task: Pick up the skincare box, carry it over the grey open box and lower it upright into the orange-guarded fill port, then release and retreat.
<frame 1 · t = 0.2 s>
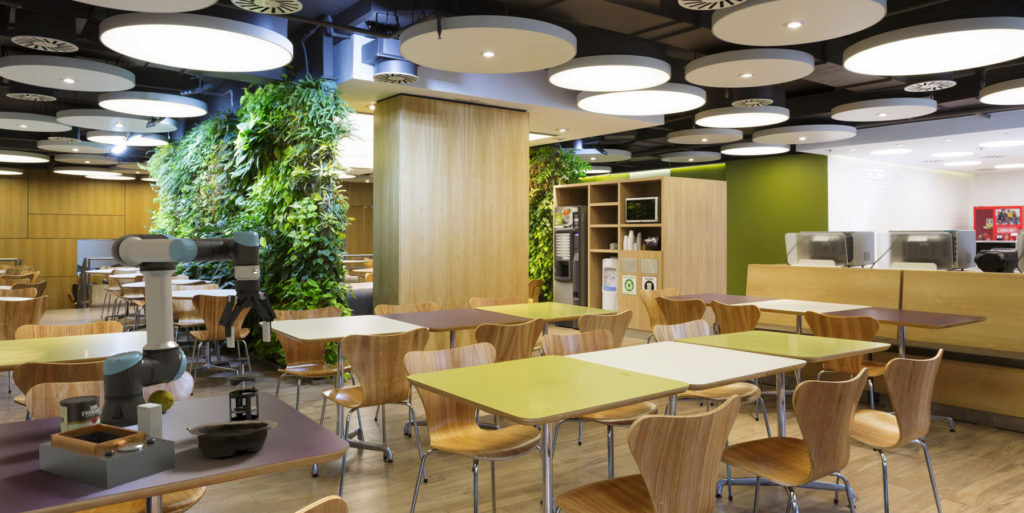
hand: (249, 344, 215), 28 cm above the table, fingers open, 13 cm apart
grey open box: (107, 468, 180), on the table
coffee can: (81, 445, 202), on the table
skincare box: (150, 444, 202), on the table
stone bowl: (234, 450, 195), on the table
french press: (244, 428, 218), on the table
lemon: (161, 412, 241), on the table
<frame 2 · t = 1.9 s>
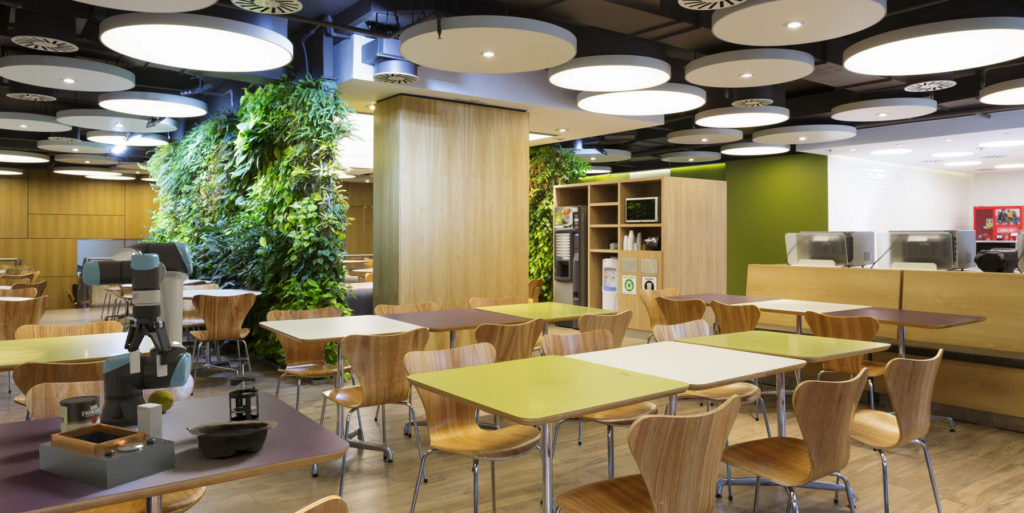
hand: (148, 374, 201), 21 cm above the table, fingers open, 13 cm apart
nothing on the table moved.
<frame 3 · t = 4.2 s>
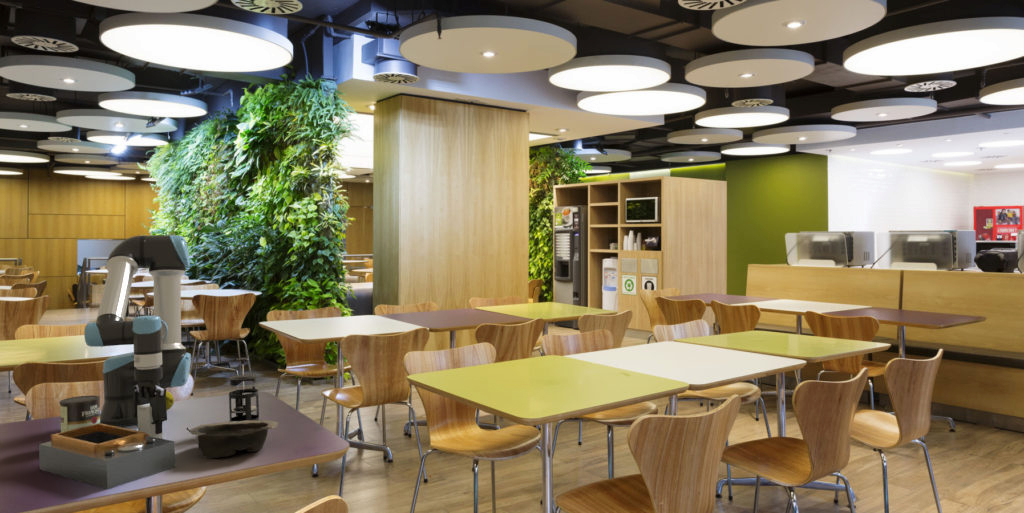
hand: (150, 442, 202), 0 cm above the table, fingers closed on skincare box, 6 cm apart
skincare box: (150, 444, 202), on the table, touching gripper
everything else where it was.
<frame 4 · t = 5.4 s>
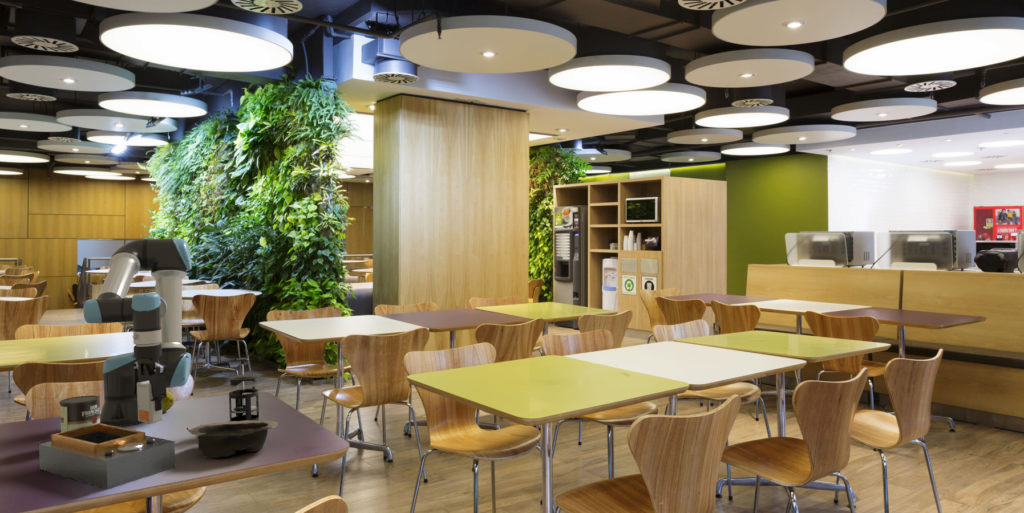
hand: (150, 419, 202), 7 cm above the table, fingers closed on skincare box, 6 cm apart
skincare box: (150, 421, 202), point 7 cm above the table, touching gripper
everything else where it was.
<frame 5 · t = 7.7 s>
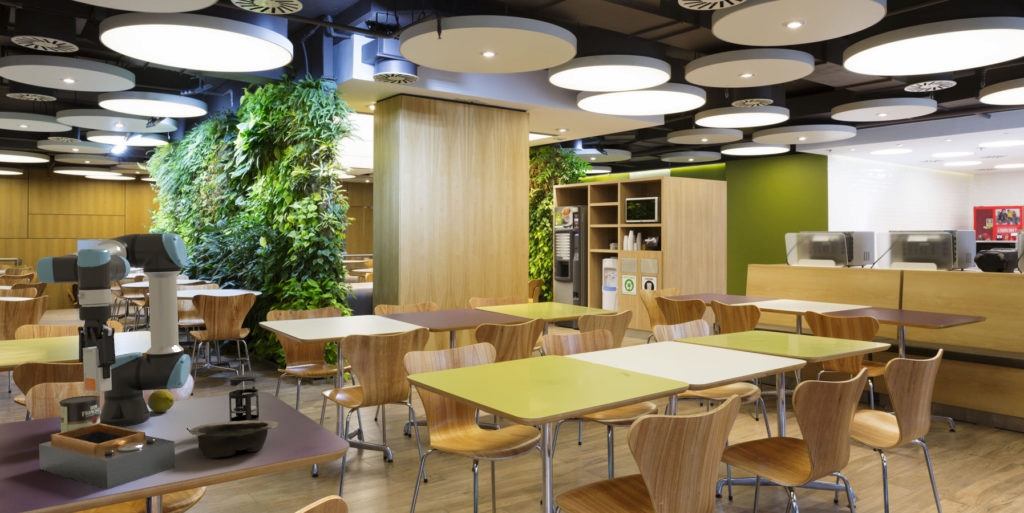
hand: (97, 389, 181), 21 cm above the table, fingers closed on skincare box, 6 cm apart
skincare box: (98, 391, 181), point 20 cm above the table, touching gripper
everything else where it was.
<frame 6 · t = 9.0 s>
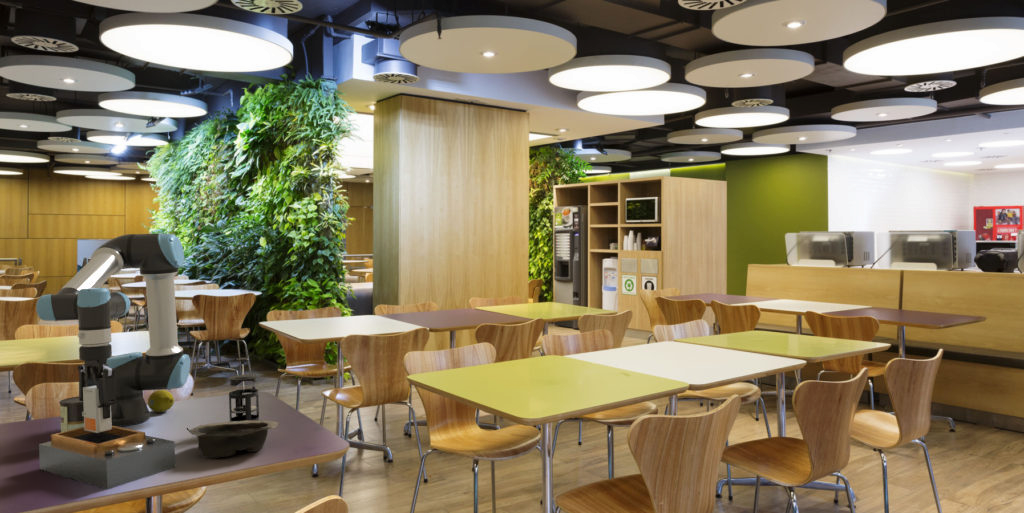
hand: (98, 428, 181), 10 cm above the table, fingers closed on skincare box, 6 cm apart
skincare box: (98, 430, 181), point 10 cm above the table, touching gripper
everything else where it was.
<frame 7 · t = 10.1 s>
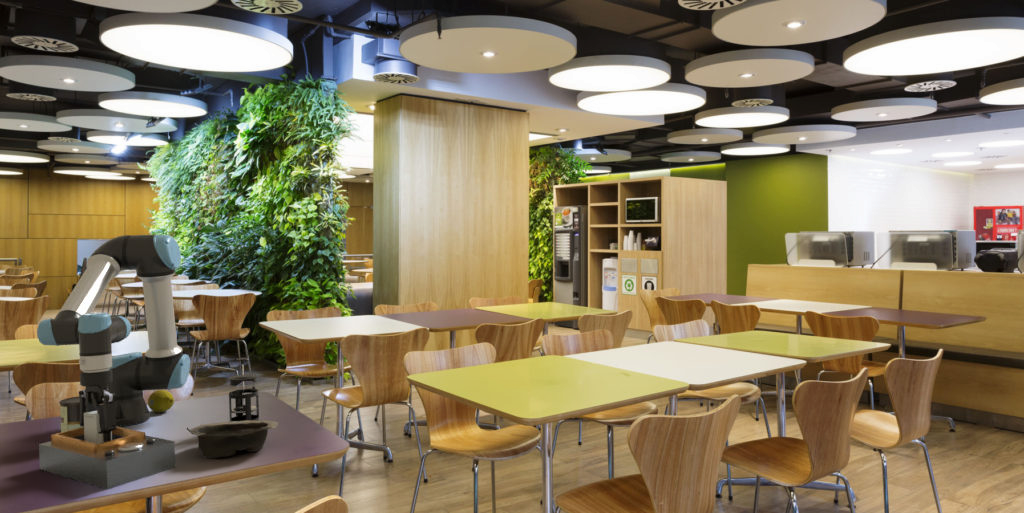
hand: (98, 454, 181), 3 cm above the table, fingers closed on skincare box, 6 cm apart
skincare box: (98, 456, 181), point 3 cm above the table, touching gripper
everything else where it was.
when the fingers open (2 cm above the table, at t = 10.7 s): skincare box drops 1 cm, resting in grey open box.
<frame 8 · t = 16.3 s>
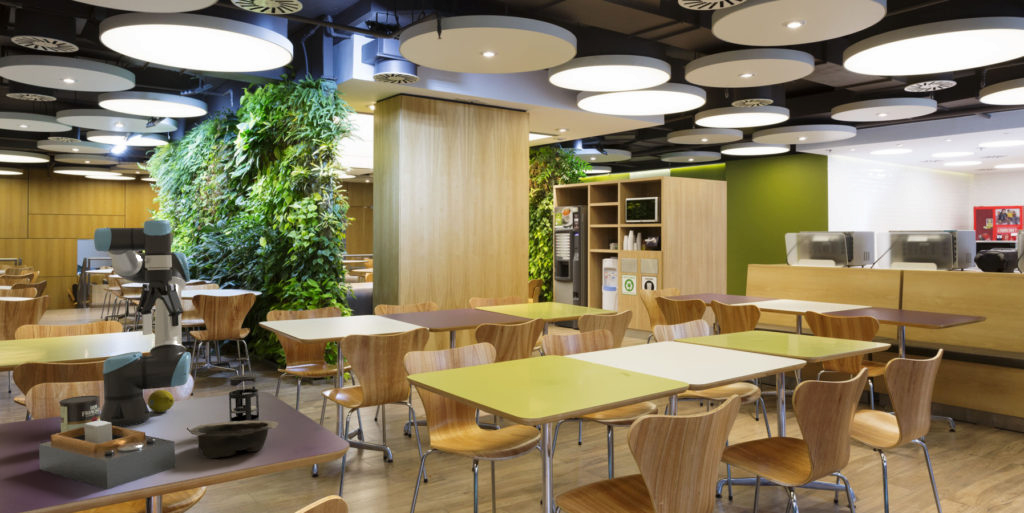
hand: (160, 335, 211), 32 cm above the table, fingers open, 13 cm apart
skincare box: (99, 467, 182), resting in grey open box
everything else where it was.
at the end: skincare box inside the target area on the grey open box (0.0 cm from its centre), point 0.0 cm above the grey open box's base; skincare box tilted 0°; the gripper is holding nothing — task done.
